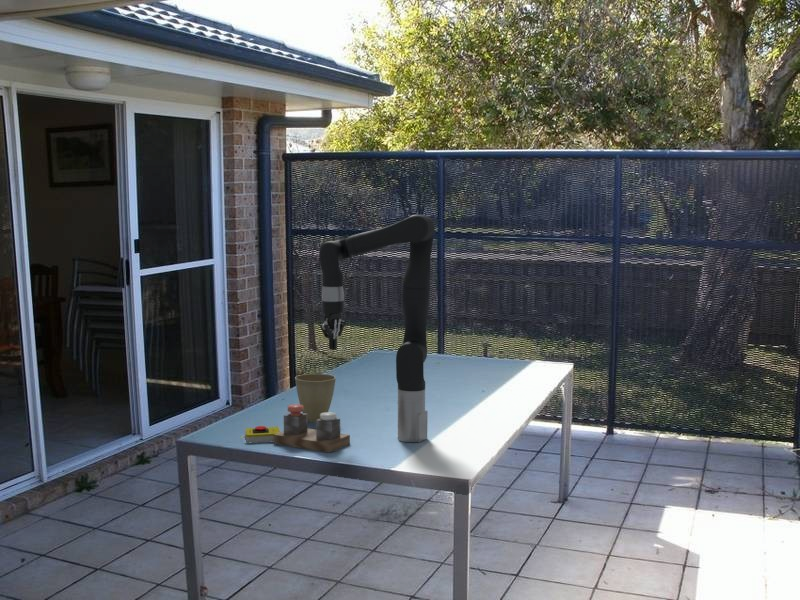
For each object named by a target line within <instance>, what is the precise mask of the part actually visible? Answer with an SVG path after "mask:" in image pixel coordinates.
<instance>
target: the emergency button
mask: <svg viewBox="0 0 800 600" xmlns="http://www.w3.org/2000/svg"><path fill="white" fill-rule="evenodd" d="M279 432H281V429H280V427H279V426H267V427H266V426H265V425H258V426H255V427H250V428H249V427H248V428H247V427H246V428H245V435H241V436H240V439H241V438H245V440H246V442H247V443H246V444H250V443H249V442H260V443H274V434H277V433H279ZM241 440H242V439H241ZM243 440H244V439H243ZM270 441H272V442H270Z"/></svg>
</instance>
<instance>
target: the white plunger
mask: <svg viewBox="0 0 800 600" xmlns="http://www.w3.org/2000/svg"><path fill="white" fill-rule="evenodd" d="M336 418H337V413H335V412H331V411H328V412H325V413H321V414H320V419H321V420H324V421H332V420H335V419H336Z"/></svg>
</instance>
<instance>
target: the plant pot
mask: <svg viewBox="0 0 800 600" xmlns="http://www.w3.org/2000/svg"><path fill="white" fill-rule="evenodd" d="M336 379H337V378H336V376H335V375H332V374H326V373H304V374H300V375H297V376H295V377H294V381H295V387H296V393H297V398H298V401H299V405H303V411H302V412H301V413H306V414H307V422H309V423H310V422H311V423H316V420H318V419H320V414H321V413H325V412H330V411H329V410H330V408H331V404H332V401H333V396H334V392H335V391H334V390H335V385H336Z"/></svg>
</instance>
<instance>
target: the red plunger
mask: <svg viewBox="0 0 800 600" xmlns="http://www.w3.org/2000/svg"><path fill="white" fill-rule="evenodd" d="M302 411H303V405H300V403H299V404H289V405H287V412H289V413H291V416H300V413H303V412H302Z"/></svg>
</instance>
